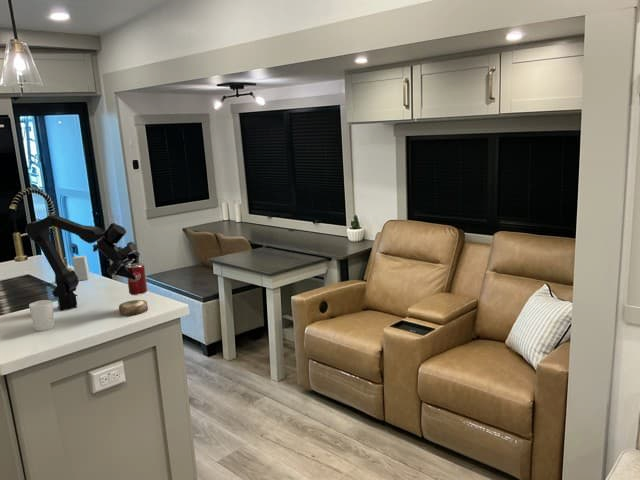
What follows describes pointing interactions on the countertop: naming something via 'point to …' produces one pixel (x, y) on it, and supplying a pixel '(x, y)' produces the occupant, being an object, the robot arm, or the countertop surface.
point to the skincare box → (81, 267)
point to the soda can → (137, 279)
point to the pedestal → (133, 307)
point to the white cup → (42, 315)
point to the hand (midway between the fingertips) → (139, 276)
